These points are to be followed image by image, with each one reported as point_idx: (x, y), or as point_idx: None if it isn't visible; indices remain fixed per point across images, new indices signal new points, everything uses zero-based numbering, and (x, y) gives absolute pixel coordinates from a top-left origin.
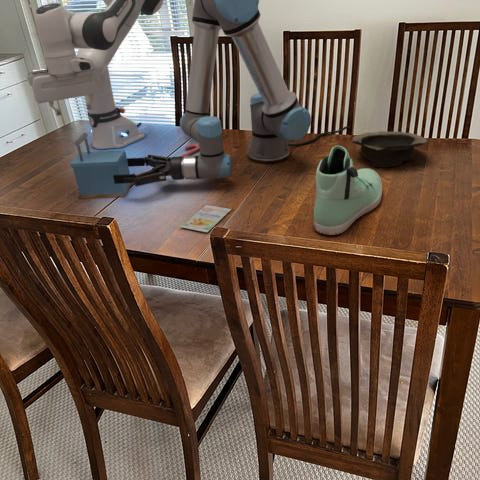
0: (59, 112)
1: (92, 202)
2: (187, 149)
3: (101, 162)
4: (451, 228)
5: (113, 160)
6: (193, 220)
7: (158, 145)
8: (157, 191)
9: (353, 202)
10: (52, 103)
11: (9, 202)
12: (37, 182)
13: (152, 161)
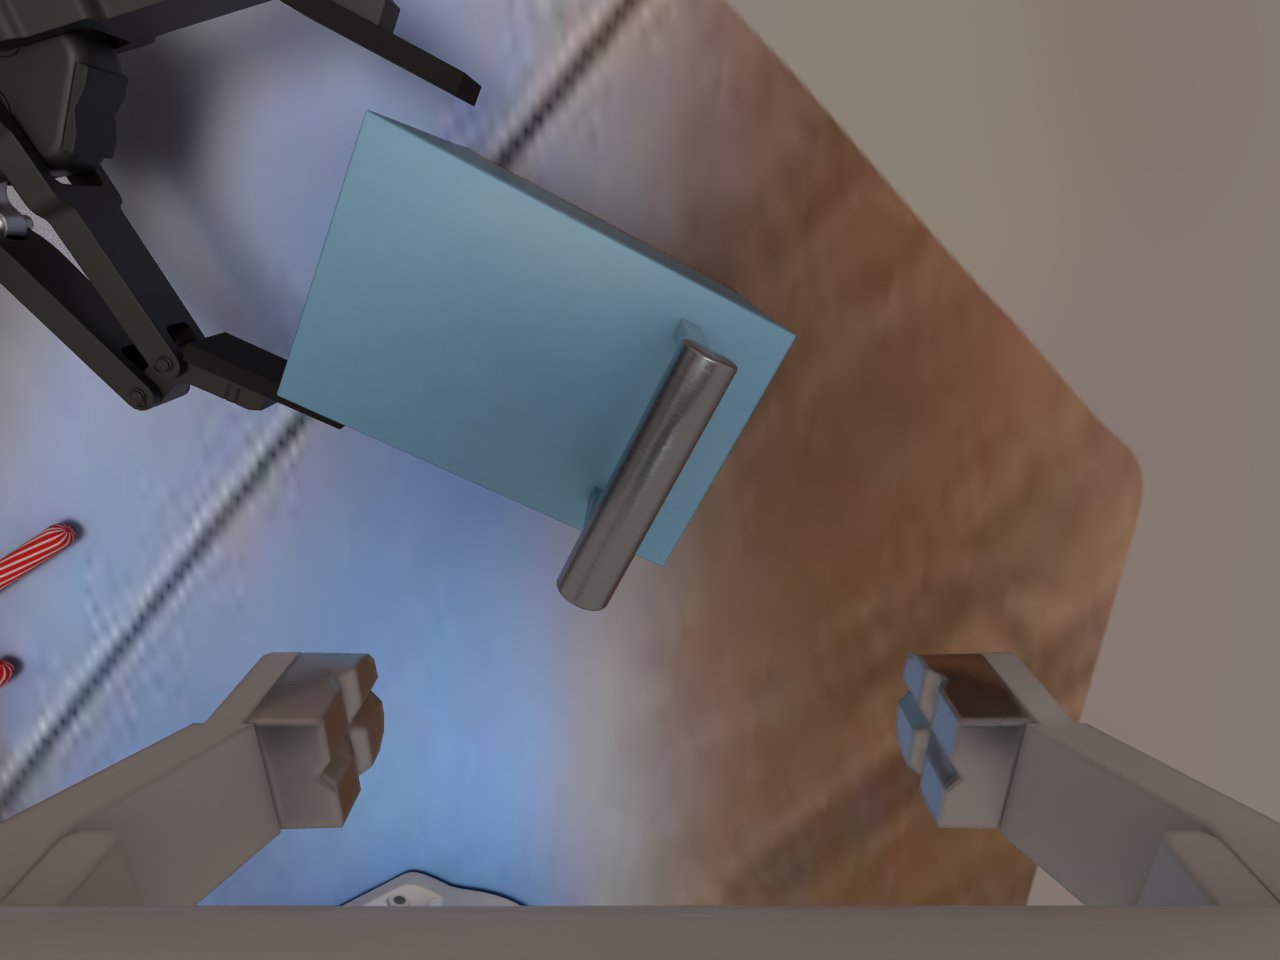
0: (956, 680)
1: (678, 175)
2: (2, 660)
3: (517, 189)
4: None
5: (397, 161)
6: None
7: None
8: (228, 98)
9: None
10: (1231, 865)
11: (1123, 470)
12: None
13: (113, 256)
